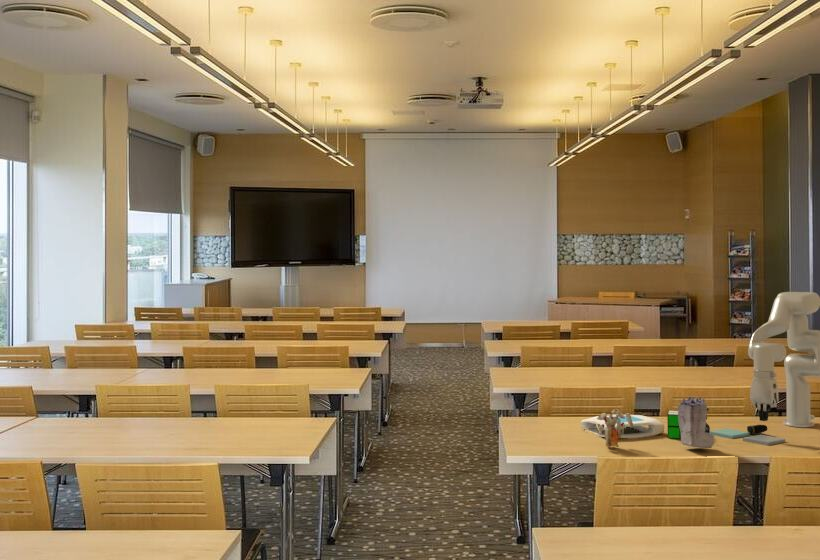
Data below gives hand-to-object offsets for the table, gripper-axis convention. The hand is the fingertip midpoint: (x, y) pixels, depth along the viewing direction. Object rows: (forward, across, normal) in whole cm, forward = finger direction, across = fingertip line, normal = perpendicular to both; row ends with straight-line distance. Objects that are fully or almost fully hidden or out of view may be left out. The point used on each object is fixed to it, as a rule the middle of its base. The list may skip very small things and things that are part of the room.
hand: (763, 420), depth 325 cm
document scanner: (+9, +44, +34) cm, 56 cm away
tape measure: (+8, +8, -12) cm, 17 cm away
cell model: (+9, +7, +32) cm, 35 cm away
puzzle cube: (+9, +25, +20) cm, 33 cm away
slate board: (+8, 0, 0) cm, 9 cm away
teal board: (+8, +16, 0) cm, 18 cm away
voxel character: (+9, +25, +58) cm, 64 cm away
